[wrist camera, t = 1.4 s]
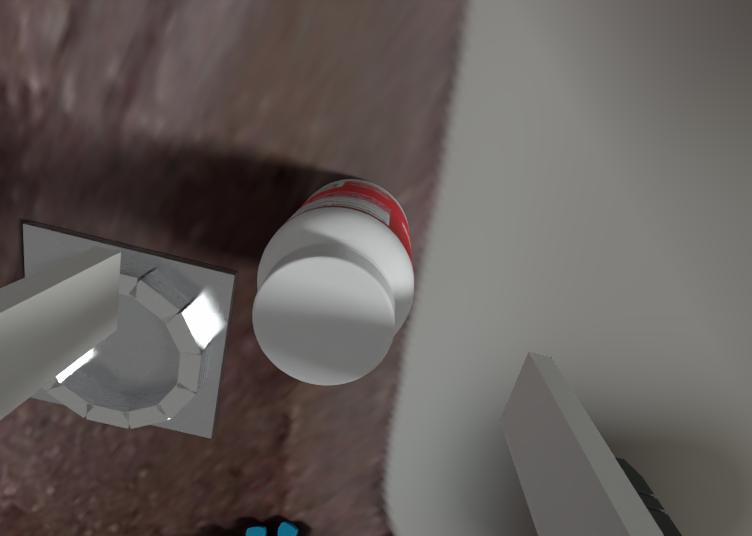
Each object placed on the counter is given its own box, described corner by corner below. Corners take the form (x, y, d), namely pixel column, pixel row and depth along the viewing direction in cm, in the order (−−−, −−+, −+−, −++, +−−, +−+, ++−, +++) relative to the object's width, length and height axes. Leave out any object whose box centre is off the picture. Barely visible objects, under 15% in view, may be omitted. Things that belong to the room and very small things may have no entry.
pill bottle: (386, 298, 26) (379, 427, 16) (286, 263, 25) (210, 372, 15) (426, 199, 24) (448, 272, 13) (317, 159, 23) (254, 203, 13)
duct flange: (31, 220, 25) (0, 230, 23) (238, 271, 26) (225, 285, 24) (36, 391, 29) (10, 412, 27) (214, 432, 30) (201, 455, 28)
